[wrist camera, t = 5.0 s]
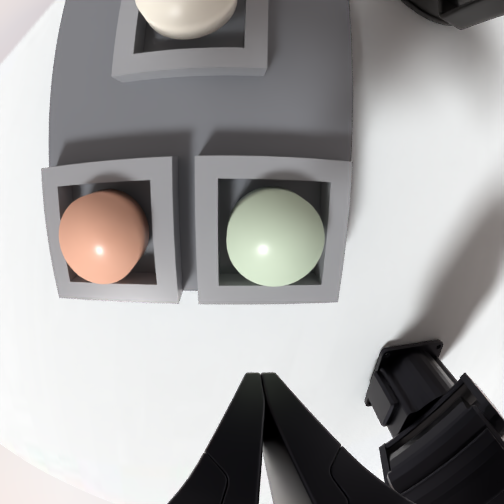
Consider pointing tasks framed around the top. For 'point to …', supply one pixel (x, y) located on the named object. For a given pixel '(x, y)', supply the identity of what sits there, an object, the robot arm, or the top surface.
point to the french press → (457, 11)
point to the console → (202, 139)
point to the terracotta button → (103, 235)
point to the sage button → (274, 236)
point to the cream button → (186, 16)
